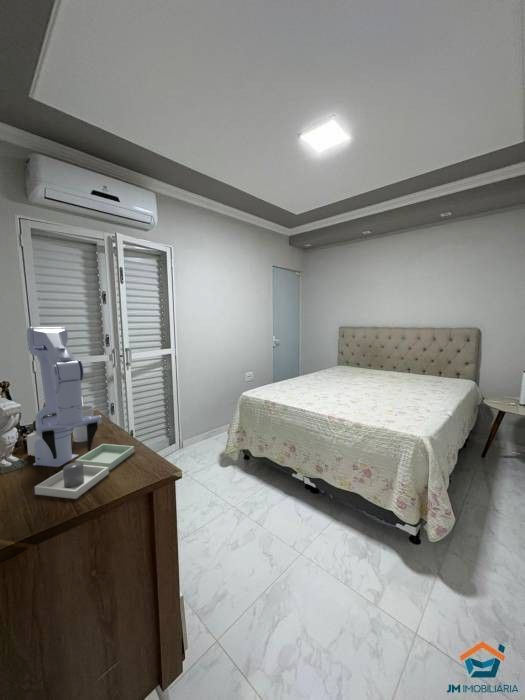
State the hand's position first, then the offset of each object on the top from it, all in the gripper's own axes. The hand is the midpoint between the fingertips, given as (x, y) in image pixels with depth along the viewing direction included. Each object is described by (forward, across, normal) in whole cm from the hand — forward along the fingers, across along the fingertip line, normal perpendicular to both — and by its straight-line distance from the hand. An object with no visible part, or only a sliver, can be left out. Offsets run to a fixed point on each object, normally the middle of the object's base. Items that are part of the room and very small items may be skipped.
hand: (72, 453), depth 76 cm
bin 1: (+9, 0, 0) cm, 9 cm away
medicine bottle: (+9, -7, +30) cm, 32 cm away
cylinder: (+9, 0, 0) cm, 9 cm away
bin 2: (+9, +9, +11) cm, 17 cm away
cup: (+9, +4, +35) cm, 37 cm away
